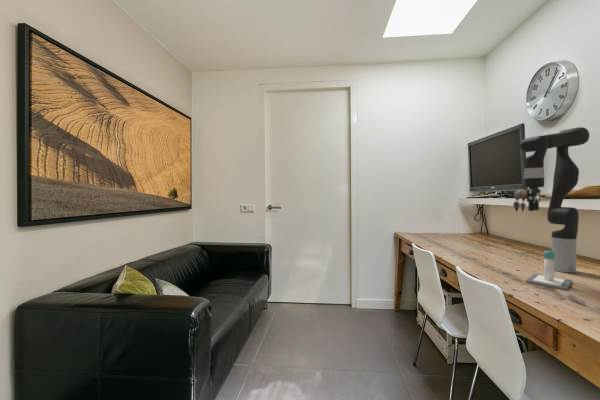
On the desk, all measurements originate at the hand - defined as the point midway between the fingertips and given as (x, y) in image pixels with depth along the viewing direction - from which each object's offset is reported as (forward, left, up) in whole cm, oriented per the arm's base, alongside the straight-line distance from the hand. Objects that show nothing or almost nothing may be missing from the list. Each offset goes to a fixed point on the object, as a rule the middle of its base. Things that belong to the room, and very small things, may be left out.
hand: (533, 210), depth 129 cm
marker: (+9, +7, -31) cm, 33 cm away
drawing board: (+9, +7, -32) cm, 34 cm away
